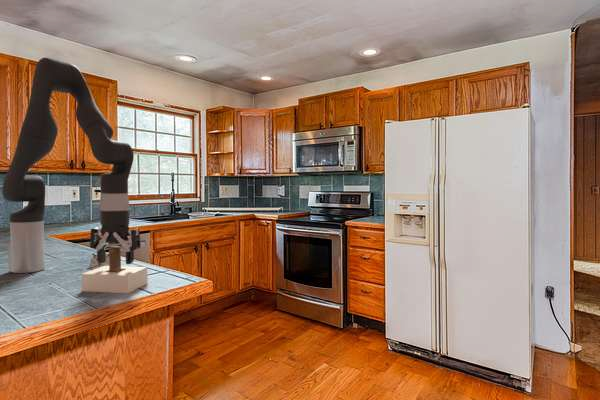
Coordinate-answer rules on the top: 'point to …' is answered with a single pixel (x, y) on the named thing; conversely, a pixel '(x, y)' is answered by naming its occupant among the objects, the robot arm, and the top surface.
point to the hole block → (114, 279)
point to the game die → (96, 264)
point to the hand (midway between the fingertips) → (115, 263)
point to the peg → (115, 259)
